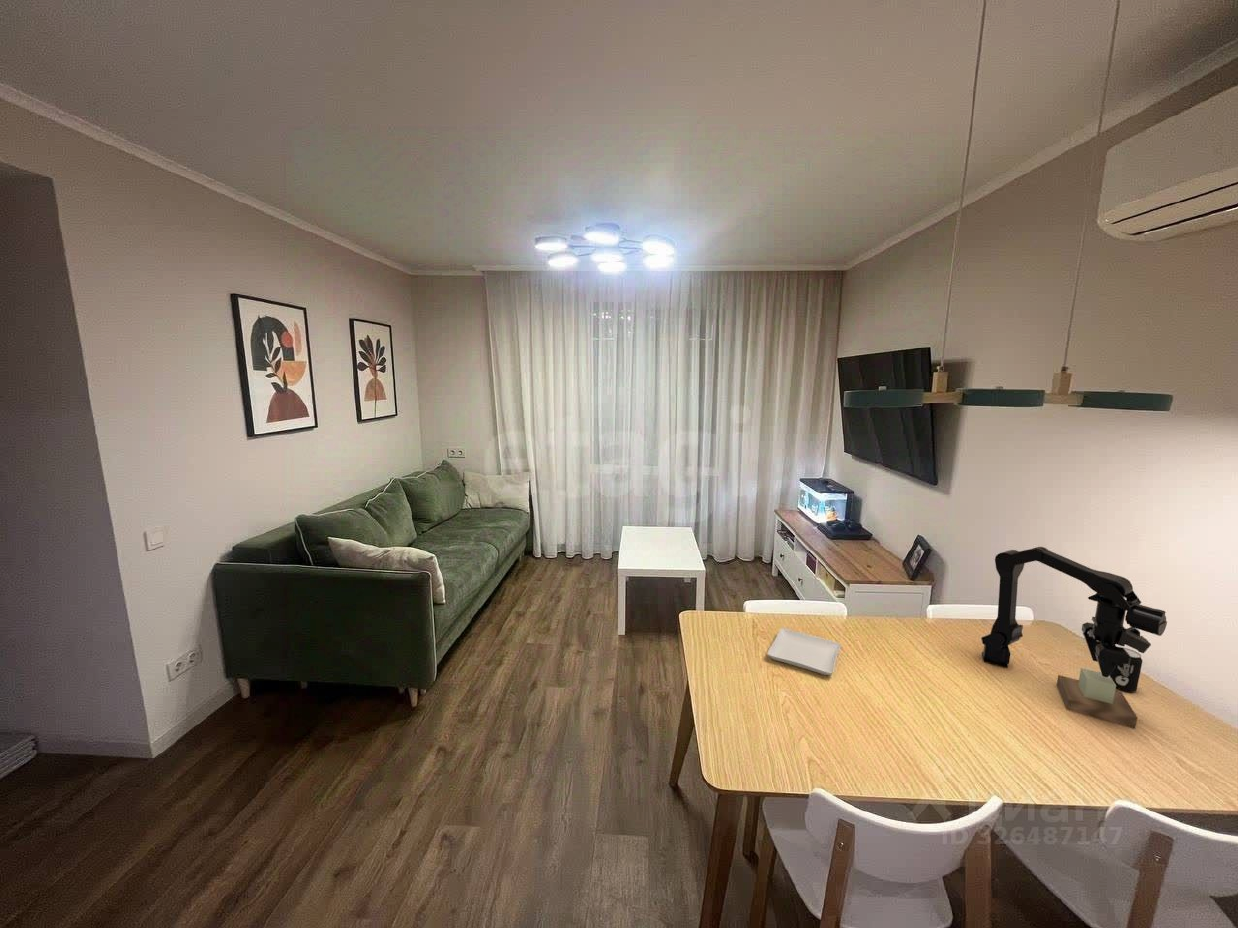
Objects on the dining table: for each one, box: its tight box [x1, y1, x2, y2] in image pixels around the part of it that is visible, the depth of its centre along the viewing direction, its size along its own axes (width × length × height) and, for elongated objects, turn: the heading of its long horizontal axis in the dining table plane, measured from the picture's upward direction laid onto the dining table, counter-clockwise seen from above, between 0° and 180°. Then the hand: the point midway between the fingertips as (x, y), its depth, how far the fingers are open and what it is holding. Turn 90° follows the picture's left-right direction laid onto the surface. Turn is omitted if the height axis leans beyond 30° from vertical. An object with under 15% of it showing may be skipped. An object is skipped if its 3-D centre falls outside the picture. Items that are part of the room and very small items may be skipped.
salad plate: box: [766, 627, 842, 676], centre depth 164 cm, size 21×21×3 cm
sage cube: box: [1078, 667, 1117, 704], centre depth 138 cm, size 6×6×6 cm
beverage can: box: [1109, 646, 1143, 693], centre depth 147 cm, size 7×7×12 cm
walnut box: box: [1056, 674, 1138, 730], centre depth 139 cm, size 14×14×4 cm
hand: (1100, 668), depth 137 cm, fingers open, 9 cm apart
